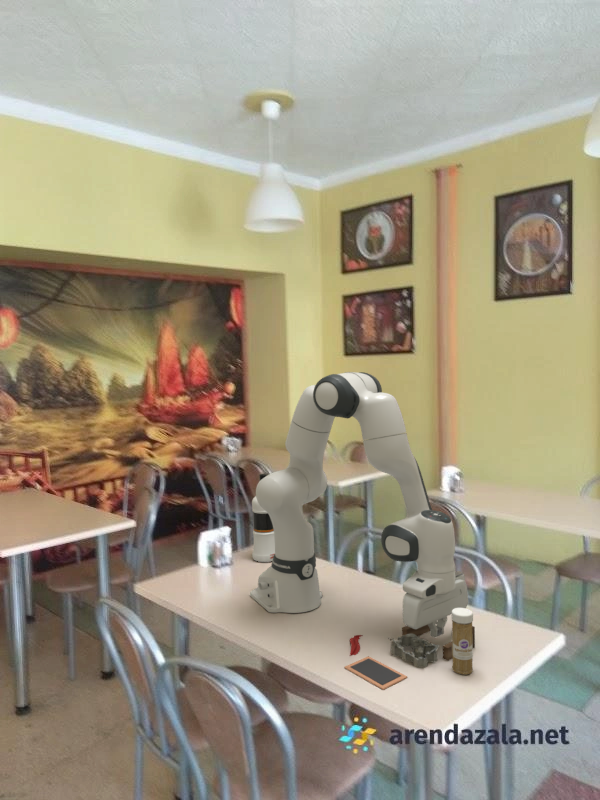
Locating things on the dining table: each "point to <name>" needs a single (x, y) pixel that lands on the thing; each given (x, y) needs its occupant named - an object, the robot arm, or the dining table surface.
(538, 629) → the dining table surface
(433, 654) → the egg carton
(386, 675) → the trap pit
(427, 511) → the robot arm
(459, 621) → the sprinkles bottle
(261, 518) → the vodka
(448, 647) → the walled channel
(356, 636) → the cayenne pepper
